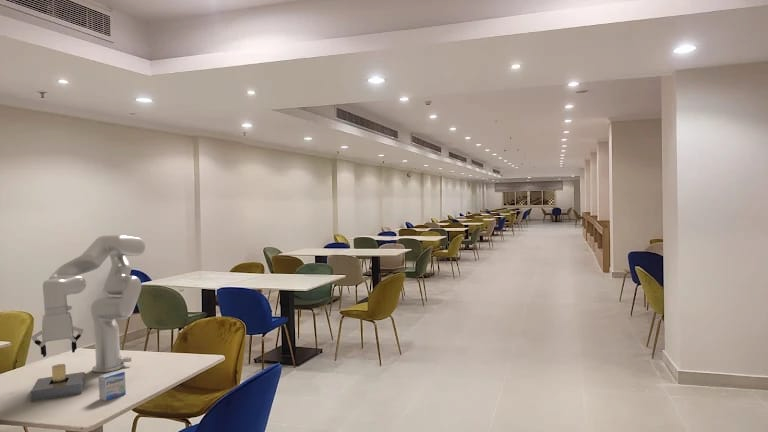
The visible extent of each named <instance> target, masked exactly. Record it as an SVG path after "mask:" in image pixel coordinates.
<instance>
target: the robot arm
mask: <svg viewBox="0 0 768 432" xmlns="http://www.w3.org/2000/svg"><path fill="white" fill-rule="evenodd" d="M145 249H146V243H145V241H144V239H142V238H140V237H135V236H129V235H122V234H115V235H114V234H112V235H110V234H109V235H108V234H105V235H100V236H99V237H97V238H96V239H95V240H94V241H93V242H92V243H91V244H90V245H89V246H88V247H87V248H86V249H85V251H83V253H81V255H80V256H78V257H77V256H76V257H75V258H73V259H71V260H69V261H68V262H66V263H64V264H62V265H61V266H59V267H58V268H57V269H56V270H55V271H54V272H53V273H52V275H50V277H49V278H48V279H46V280H44V281H43V283H42V292H43V293H42V294H43V295H42V296H43V308H44V309H43V310H44V314H43V315H42V321H41V330H39V332H37V333H35V334H33V335H31V337H30V338H31V340H32V341H33V343H34V344H36V345H37V346H39V348H40V355H42V357H43V358H46V356H47V346H46V343H47V342H53V341H60V340H68V339H69V340H70V341H71V352H72V353H75V351H77V348H78V347H77V341H78V340H79V339H80V338H81V336H82V334H83V332H84V329H83V328H80V327H77V326H74V324H73V317H72V313H71V311H70V310H72V308H73V307H72V305H68V300H67V299H68V298H67V296H69V295H77V294H81V293H82V292H83V291H84V290H85V289H86V287H87V280H86V279H85V278H84V277H83V276H81V275H83V274H87V273H90V272H93V271H95V270H97V269H99V268H100V267H101V265H102V264H103V263H104V262H105V261H106V259H108V257H109V258H110V262H111V267H110V269H109V271H108V274H107V277H106V279H105V282H104V284H103V289H102V290H103V293H104V295H106V296H105V297H100V298H96V299H95V300H94V301H92V303H91V305H90V312H91V316H92V320H93V329H94V347H95V350H94V351H95V365H94V366H92V369H91V370H92V372H93V373H111V372H115V371H119V370H120V369H122V368H124V367H125V363H130V362H132V356H125V357H123V356H122V355H121V351H120V349H121V348H120V345H121V344H120V328H119V324H118V322H117V320H125V319H128V318H130V317H131V316H132V315H133V313H134V311H135V307H136V305H137V302H138V300H139V297H140V294H141V291H142V282H141V279H140V278H139V277H138V276H135V275H131V271H132V265H131V262H130V261H129V259H128V257H137V256H138V257H139V256H141V255H142V254H144V252H145ZM74 332H78V333H77V335H76V336H75V335H74ZM39 336H41V339H42V340H40V339H38V337H39Z"/></svg>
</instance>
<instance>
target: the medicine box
mask: <svg viewBox="0 0 768 432" xmlns="http://www.w3.org/2000/svg"><path fill="white" fill-rule="evenodd" d="M126 388H127V386H126V371H123V370H114V371H111V372H108V373H106V374H103V375H99V376H98V394H99V395H98V399H99V400H102V401H105V402H108V401H109V400H113V399H116V398H118V397H121V396H124V395H126V392H127V390H126Z"/></svg>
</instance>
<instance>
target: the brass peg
mask: <svg viewBox="0 0 768 432" xmlns="http://www.w3.org/2000/svg"><path fill="white" fill-rule="evenodd" d="M66 371H67V369H66V364H64V363H60V364H55V365H52V366H51V372H52V374H51V375H52V376H51V377H52V378H53V384H57V383H63V382H66V375H67V373H66Z"/></svg>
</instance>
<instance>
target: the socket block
mask: <svg viewBox="0 0 768 432" xmlns="http://www.w3.org/2000/svg"><path fill="white" fill-rule="evenodd" d="M85 378H86V377H85V371H81V372H76V373H69V374H67V373H66V382H63V383H57V384H53V378H52V376H49V377H48V376H47V377H42V378H41V377H40V378H37V380H36V382H35V383H34V385H33V387H32V389H31V390H30V401H31V403H33V402H38V401H39V402H40V401H46V400H50V399H51V400H52V399H58V398H63V397H70V396H75V395H80V394H81V395H82V393H83V389H84V386H85V384H86V383H85V382H86V379H85Z"/></svg>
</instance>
